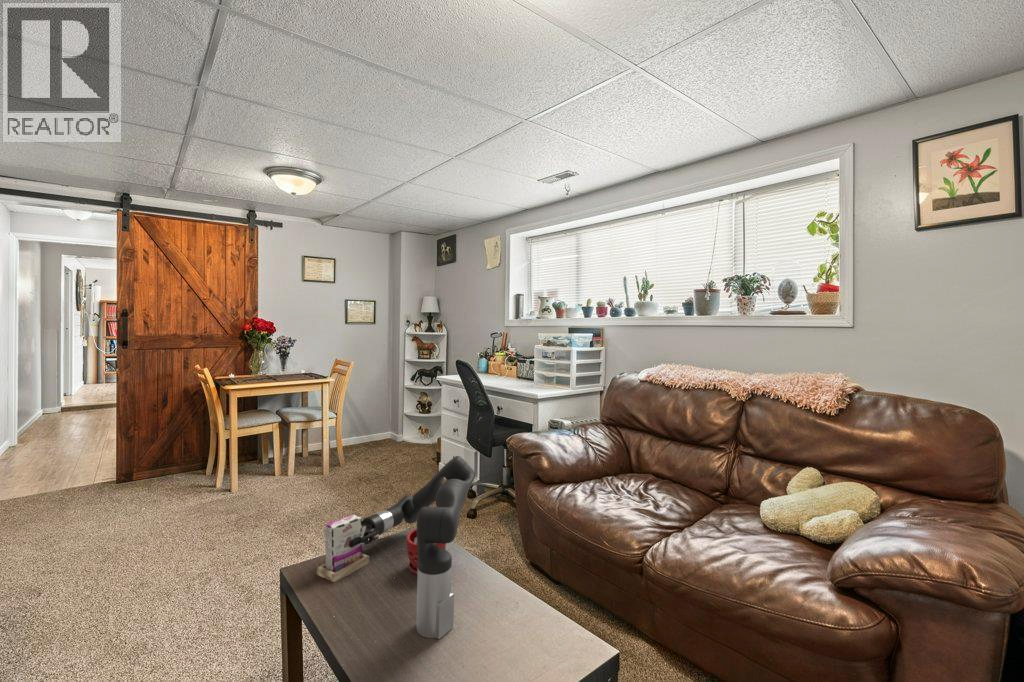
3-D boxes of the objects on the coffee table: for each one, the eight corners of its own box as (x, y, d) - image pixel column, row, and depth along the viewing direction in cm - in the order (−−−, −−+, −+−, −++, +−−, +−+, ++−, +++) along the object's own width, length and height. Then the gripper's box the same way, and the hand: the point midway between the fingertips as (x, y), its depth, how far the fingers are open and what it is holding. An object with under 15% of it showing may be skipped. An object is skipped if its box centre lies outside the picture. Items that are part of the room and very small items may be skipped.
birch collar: (369, 563, 163) (369, 556, 163) (334, 582, 151) (334, 574, 151) (352, 556, 168) (352, 549, 167) (316, 574, 155) (316, 567, 155)
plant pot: (402, 563, 163) (402, 529, 163) (439, 556, 169) (440, 523, 168) (411, 583, 151) (411, 546, 151) (450, 575, 157) (451, 539, 156)
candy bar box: (354, 560, 165) (354, 513, 165) (362, 564, 162) (362, 517, 161) (324, 572, 156) (324, 523, 156) (332, 578, 153) (332, 528, 153)
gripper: (391, 539, 168) (355, 558, 154) (363, 529, 175) (326, 546, 161) (392, 518, 168) (355, 535, 154) (364, 509, 175) (326, 524, 161)
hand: (340, 541), depth 158 cm, fingers open, 8 cm apart
